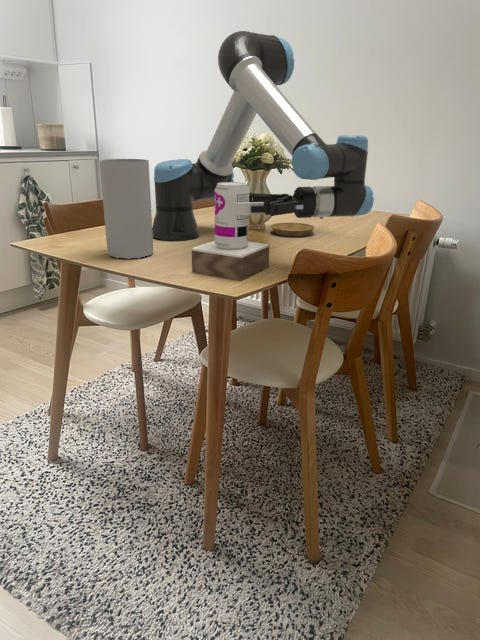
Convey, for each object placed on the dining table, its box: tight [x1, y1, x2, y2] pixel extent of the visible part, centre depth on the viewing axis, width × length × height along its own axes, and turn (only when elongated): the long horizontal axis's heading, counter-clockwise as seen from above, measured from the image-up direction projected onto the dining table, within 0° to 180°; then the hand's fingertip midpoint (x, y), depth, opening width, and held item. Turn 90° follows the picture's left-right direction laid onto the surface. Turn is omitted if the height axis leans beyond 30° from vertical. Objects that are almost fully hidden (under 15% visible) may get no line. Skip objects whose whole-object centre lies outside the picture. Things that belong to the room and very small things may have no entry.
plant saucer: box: [270, 222, 315, 238], centre depth 170 cm, size 15×15×3 cm
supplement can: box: [214, 181, 250, 250], centre depth 122 cm, size 8×8×15 cm
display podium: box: [191, 240, 270, 282], centre depth 126 cm, size 14×14×6 cm
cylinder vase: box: [99, 158, 154, 259], centre depth 136 cm, size 12×12×25 cm
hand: (228, 204), depth 120 cm, fingers open, 13 cm apart
